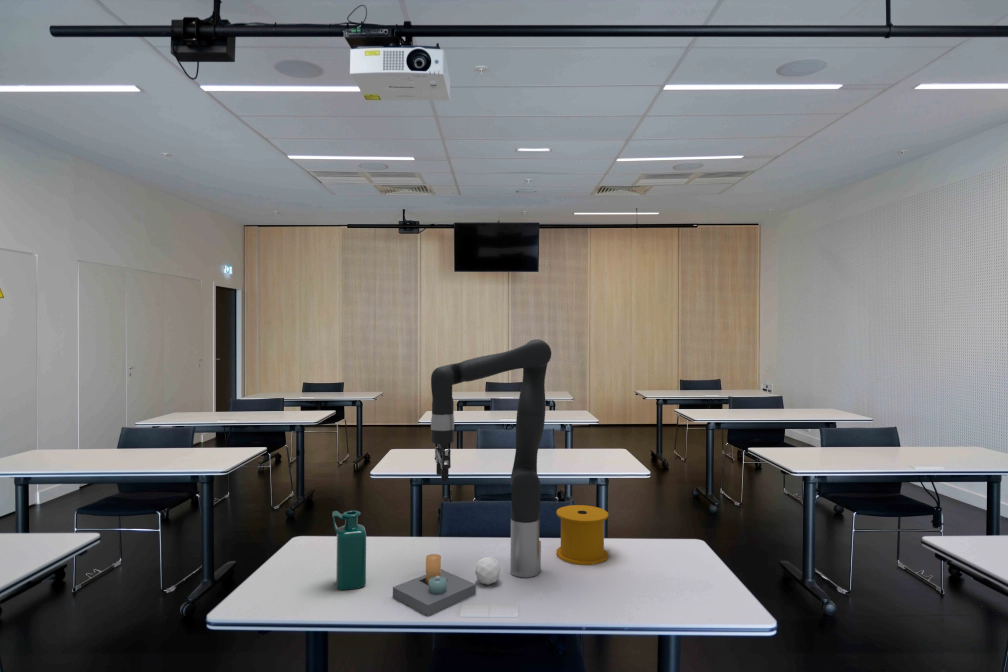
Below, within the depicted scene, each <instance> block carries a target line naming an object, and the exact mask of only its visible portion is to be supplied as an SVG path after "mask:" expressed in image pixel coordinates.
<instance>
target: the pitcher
mask: <svg viewBox="0 0 1008 672" xmlns="http://www.w3.org/2000/svg"><path fill="white" fill-rule="evenodd" d="M361 514H362V513H361V512H360V511H359V510H348V511H344V512H343V513H340V512H339V511H338V510H334V511H332V523H333V529H334V531H335V533H336V560H335V561H336V569H335V570H336V571H335V573H336V574H335V579H336V580H335V582H336V589H337V590H339V591H347V590H354V589H362V588H363V587H365V586H366V584H367V532H366V528H365V526H364V525H362V524H359V523H358V520H359V519H358V517H359V516H360V515H361ZM336 518H338V519H340V520H345V522H344V525H342V526H340V527H338V526H337V524H336Z"/></svg>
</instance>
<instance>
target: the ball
mask: <svg viewBox="0 0 1008 672" xmlns="http://www.w3.org/2000/svg"><path fill="white" fill-rule="evenodd" d="M474 570H475V571H474V573H475V576H476V579H477V581H479V583H480V584H483V585H487V586H489V585H491V584H494V583H496V582H497V581H498V579H499V578H500V574H501V568H500V563H499V562H498V561H497V559H495V558H493V557H489V556H485V557H483V558H481V559H480V560H479V561H478V562H477V563H476V564H475V569H474Z"/></svg>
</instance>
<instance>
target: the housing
mask: <svg viewBox="0 0 1008 672" xmlns="http://www.w3.org/2000/svg"><path fill="white" fill-rule="evenodd" d="M475 595H477V584H476V583H474V582H472V581H470V580H468V579H465V578H463V577H460V576H458V575H456V574H453V573H450V572H449V571H446V570H444V569H441V576H436V577H432V578H430V579H429V585H427V584H426V574H423V575H421V576H418V577H415V578H413V579H410V580H408V581H405V582H402V583H400V584H398V585H394V586H392V599H394V600H397V601H398V602H400V603H403V604H404V605H405V606H407V607H409V608H412V609H414V610H415V611H417V612H419V613H421V614H423V615H425V616H426V617H430V616H432V615H434V614H437V613H439V612H441V611H443V610H445V609H447V608H449V607H452V606H454V605H456V604H458V603H460V602H462V601H465V600H467V599H469V598H471V597H473V596H475Z"/></svg>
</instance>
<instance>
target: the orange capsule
mask: <svg viewBox="0 0 1008 672" xmlns="http://www.w3.org/2000/svg"><path fill="white" fill-rule="evenodd" d="M441 563H442V556H441V555H440V554H437V553H431V554H428V555H426V556H425V575H426V584H427V585H429V579H430V578H432V577H436V576H441V568H442V567H441V566H442V564H441Z"/></svg>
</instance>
